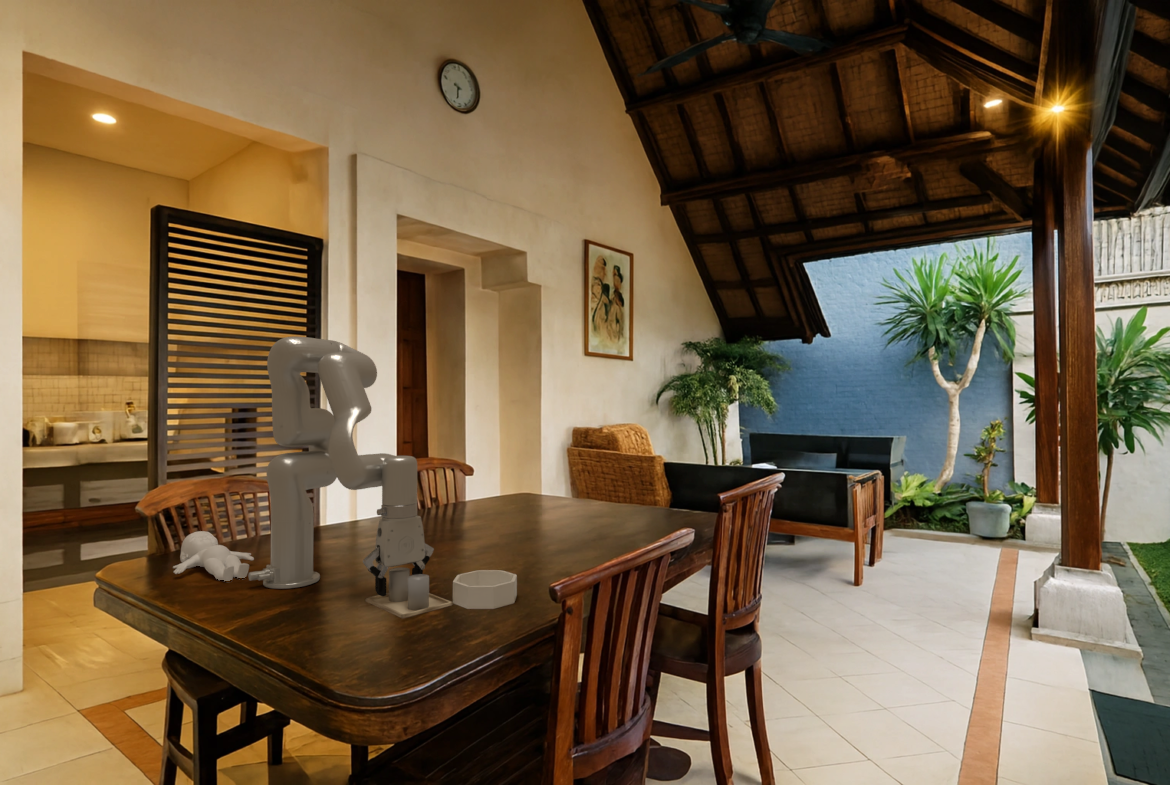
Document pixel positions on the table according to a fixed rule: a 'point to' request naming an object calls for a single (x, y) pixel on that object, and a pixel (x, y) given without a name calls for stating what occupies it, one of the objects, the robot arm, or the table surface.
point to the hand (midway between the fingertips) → (399, 590)
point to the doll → (212, 557)
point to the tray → (406, 605)
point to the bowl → (485, 589)
